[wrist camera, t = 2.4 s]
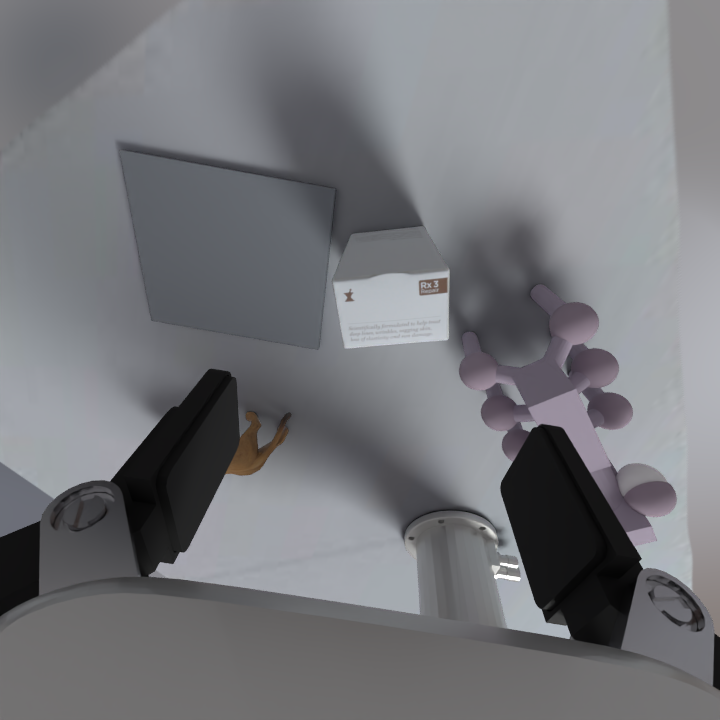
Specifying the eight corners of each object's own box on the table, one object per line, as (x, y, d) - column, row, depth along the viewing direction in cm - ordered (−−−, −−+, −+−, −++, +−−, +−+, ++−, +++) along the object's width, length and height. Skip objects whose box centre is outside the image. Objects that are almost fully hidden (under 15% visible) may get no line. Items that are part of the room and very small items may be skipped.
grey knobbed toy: (625, 427, 36) (724, 563, 25) (522, 458, 40) (566, 587, 29) (561, 267, 28) (665, 362, 17) (441, 328, 32) (458, 435, 21)
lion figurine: (209, 461, 44) (171, 527, 36) (180, 433, 42) (132, 498, 34) (304, 425, 39) (283, 492, 32) (277, 391, 37) (247, 455, 29)
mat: (336, 188, 26) (335, 189, 25) (319, 346, 33) (318, 349, 33) (124, 149, 26) (119, 149, 25) (155, 317, 33) (151, 320, 33)
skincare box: (356, 283, 30) (339, 356, 20) (349, 229, 27) (324, 280, 17) (429, 276, 29) (450, 348, 19) (428, 219, 27) (451, 267, 16)
